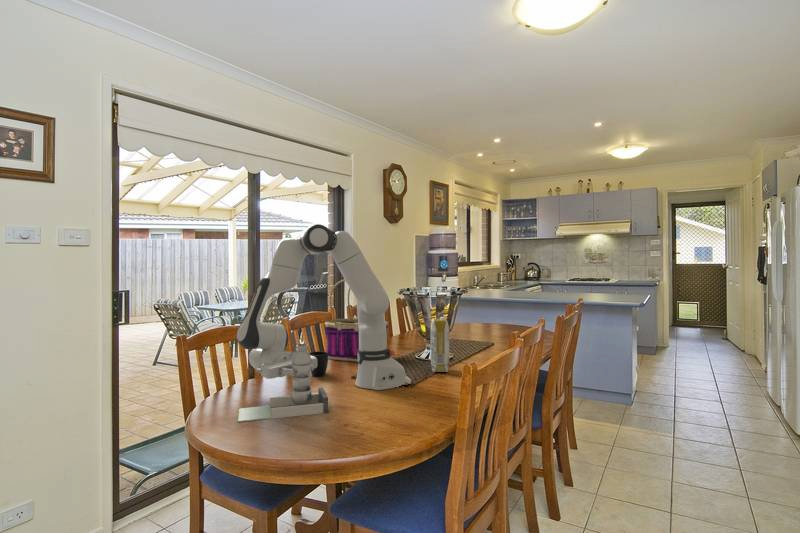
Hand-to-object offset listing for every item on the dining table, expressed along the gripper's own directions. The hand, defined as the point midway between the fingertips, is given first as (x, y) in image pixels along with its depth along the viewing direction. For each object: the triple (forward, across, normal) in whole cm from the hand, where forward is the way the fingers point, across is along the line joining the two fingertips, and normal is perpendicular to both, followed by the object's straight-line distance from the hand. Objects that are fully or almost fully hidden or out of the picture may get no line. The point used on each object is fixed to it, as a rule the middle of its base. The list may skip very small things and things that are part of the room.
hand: (303, 370), depth 152 cm
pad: (-8, -13, +13) cm, 20 cm away
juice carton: (+4, +70, +14) cm, 71 cm away
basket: (-44, +63, +14) cm, 78 cm away
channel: (-2, -2, +13) cm, 13 cm away
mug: (-32, +32, +14) cm, 47 cm away
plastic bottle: (-1, 0, +12) cm, 12 cm away
